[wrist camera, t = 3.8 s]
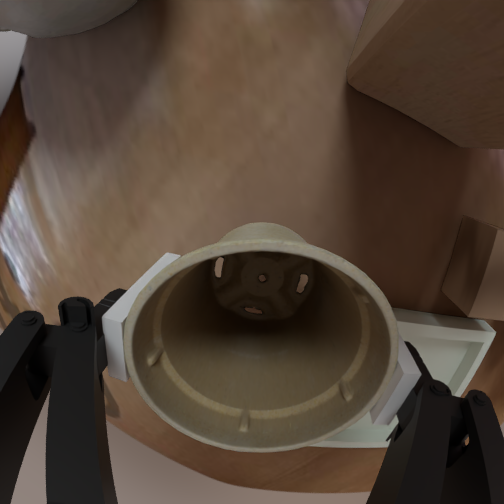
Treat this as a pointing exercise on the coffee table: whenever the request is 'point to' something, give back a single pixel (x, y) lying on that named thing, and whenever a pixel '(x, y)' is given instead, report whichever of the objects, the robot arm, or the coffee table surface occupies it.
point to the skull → (58, 15)
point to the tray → (427, 365)
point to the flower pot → (261, 342)
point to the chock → (477, 270)
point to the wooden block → (436, 65)
